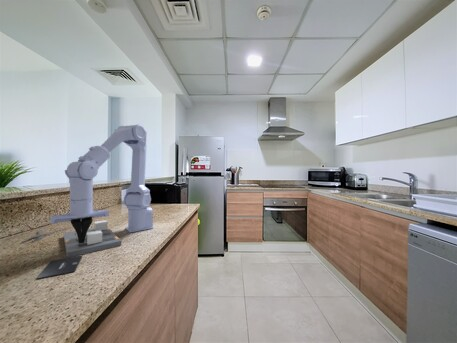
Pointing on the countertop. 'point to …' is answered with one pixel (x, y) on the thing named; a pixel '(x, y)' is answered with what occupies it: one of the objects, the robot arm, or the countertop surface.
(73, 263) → the solid state drive
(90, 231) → the tab
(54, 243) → the countertop surface
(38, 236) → the pliers
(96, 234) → the white block
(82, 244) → the switch board
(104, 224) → the tab
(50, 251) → the countertop surface
